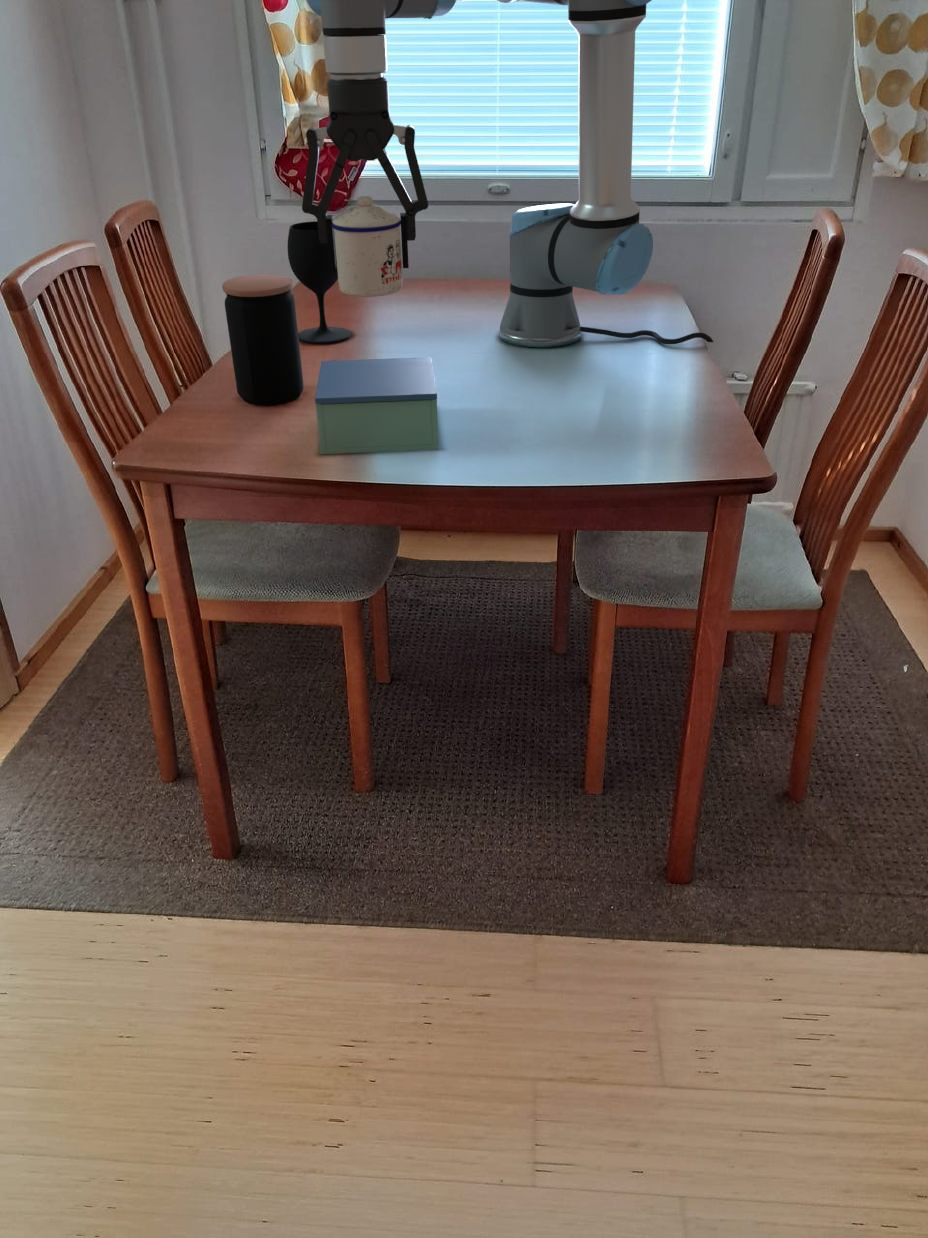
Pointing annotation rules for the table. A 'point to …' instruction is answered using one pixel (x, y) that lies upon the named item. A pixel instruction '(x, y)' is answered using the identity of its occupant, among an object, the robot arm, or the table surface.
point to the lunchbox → (378, 426)
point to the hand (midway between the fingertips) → (369, 266)
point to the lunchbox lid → (376, 380)
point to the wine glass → (314, 277)
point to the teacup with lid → (368, 250)
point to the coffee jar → (264, 339)
